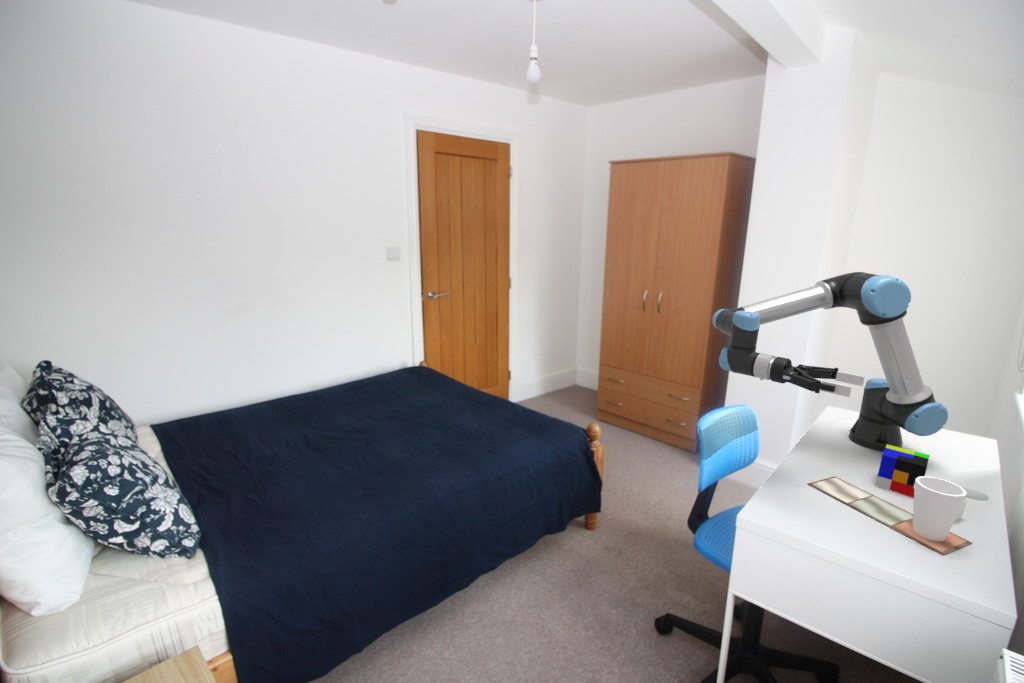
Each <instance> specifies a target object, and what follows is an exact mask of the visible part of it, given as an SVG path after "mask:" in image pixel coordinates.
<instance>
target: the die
mask: <svg viewBox="0 0 1024 683" xmlns="http://www.w3.org/2000/svg"><path fill="white" fill-rule="evenodd" d="M966 504H967V500H965V503H963V504H962V506H961V509H960V511H959V513H958V515H957V517H956V519H955V521H954V522H957V521H959V520H961V518H962V519H963V515H964V512H965V508H966ZM958 519H959V520H958ZM956 520H957V521H956Z"/></svg>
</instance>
